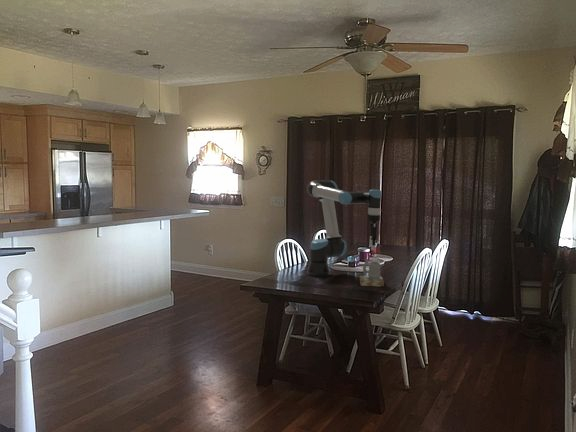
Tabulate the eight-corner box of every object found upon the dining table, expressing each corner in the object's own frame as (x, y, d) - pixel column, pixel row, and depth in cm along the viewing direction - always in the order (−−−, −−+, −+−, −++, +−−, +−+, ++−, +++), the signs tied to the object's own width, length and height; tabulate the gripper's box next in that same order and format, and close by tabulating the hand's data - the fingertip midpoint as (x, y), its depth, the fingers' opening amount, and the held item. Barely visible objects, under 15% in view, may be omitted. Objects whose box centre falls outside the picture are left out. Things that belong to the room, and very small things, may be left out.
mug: (377, 280, 296) (378, 261, 294) (360, 277, 302) (360, 258, 301) (382, 277, 302) (383, 259, 301) (365, 275, 309) (365, 256, 307)
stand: (360, 285, 295) (360, 280, 295) (359, 280, 309) (359, 275, 308) (383, 286, 294) (383, 281, 293) (381, 281, 307) (381, 275, 307)
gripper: (382, 217, 284) (380, 252, 286) (378, 212, 309) (376, 244, 311) (369, 216, 285) (367, 251, 287) (366, 212, 309) (365, 244, 312)
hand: (372, 248), depth 299 cm, fingers open, 13 cm apart
